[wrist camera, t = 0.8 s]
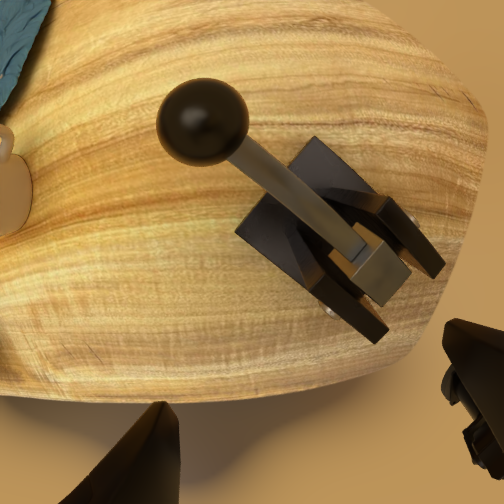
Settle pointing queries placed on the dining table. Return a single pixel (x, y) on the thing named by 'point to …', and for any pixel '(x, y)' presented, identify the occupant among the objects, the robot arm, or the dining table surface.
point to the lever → (271, 178)
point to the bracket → (317, 249)
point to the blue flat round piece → (17, 38)
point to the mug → (13, 186)
